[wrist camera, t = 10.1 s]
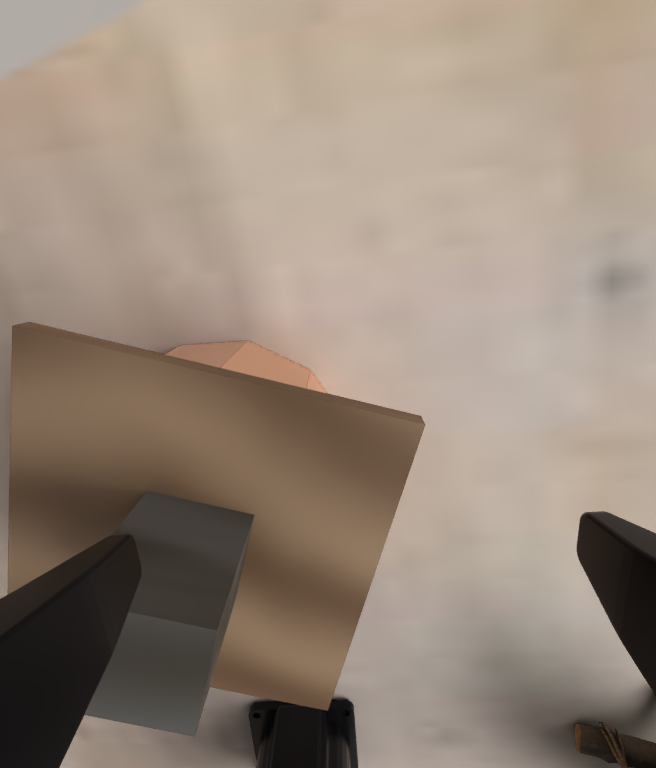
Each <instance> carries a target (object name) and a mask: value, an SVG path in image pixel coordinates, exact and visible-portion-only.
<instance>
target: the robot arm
mask: <svg viewBox="0 0 656 768" xmlns="http://www.w3.org/2000/svg"><path fill="white" fill-rule="evenodd" d="M577 555H578V558H579V561H580V563H581V565H582V567H583V569H584V571H585V573H586V575H587V577H588V579H589V581H590V582H591V584H592V586H593V588H594V590H595V592H596V594H597V596H598V598H599V600H600V602H601V604H602V606H603V608H604V610H605V612H606V614H607V616H608V618H609V620H610V622H611V623H612V625H613V627H614V629H615V631H616V633H617V634H618V636H619V638H620V640H621V641H622V643H623V645H624V646H625V648H626V650H627V651H628V653H629V654H630V656H631V657H632V659H633V661H634V662H635V664H636V665H637V667H638V668H639V670H640V672H641V673H642V675H643V676H644V678H645V679H646V681H647V683H648V684H649V686H650V687H651V689H652V690H653V692H654V694H655V695H656V533H654V532H651V531H649V530H647V529H645V528H642V527H640V526H638V525H635V524H633V523H631V522H629V521H626V520H624V519H622V518H619V517H617V516H615V515H613V514H610V513H608V512H604V511H601V512H585V513H584V514H582V516H581V518H580V523H579V532H578V540H577ZM141 574H142V566H141V562H140V558H139V553H138V549H137V545H136V541H135V538H134V537H133V535H131V534H112V535H109V536H108V537H106V538H104V539H102V540H101V541H99V542H97V543H96V544H94V545H92V546H90V547H89V548H87V549H85V550H84V551H82V552H80V553H78V554H77V555H75V556H73V557H72V558H70V559H68V560H66V561H65V562H63V563H61V564H60V565H58V566H56V567H54V568H53V569H51V570H49V571H48V572H46V573H44V574H42V575H41V576H39V577H37V578H36V579H34V580H32V581H30V582H29V583H27V584H25V585H24V586H22V587H20V588H18V589H17V590H15V591H13V592H11V593H10V594H8V595H6V596H5V597H3V598H1V599H0V768H59V767H60V765H61V763H62V761H63V759H64V756H65V754H66V752H67V750H68V748H69V746H70V744H71V742H72V740H73V737H74V735H75V733H76V731H77V729H78V727H79V725H80V723H81V721H82V719H83V716H84V714H85V712H86V710H87V708H88V706H89V704H90V702H91V700H92V697H93V695H94V693H95V691H96V689H97V687H98V685H99V683H100V681H101V679H102V676H103V674H104V672H105V670H106V668H107V666H108V664H109V661H110V659H111V657H112V655H113V652H114V650H115V647H116V645H117V642H118V639H119V637H120V634H121V631H122V629H123V626H124V623H125V620H126V618H127V615H128V612H129V609H130V607H131V604H132V601H133V598H134V596H135V593H136V590H137V587H138V585H139V582H140V579H141ZM249 720H250V726H251V731H252V737H253V743H254V748H255V754H256V760H257V765H256V768H358V757H357V744H356V730H355V717H354V706H353V704H352V703H351V702H349V701H331V703H330V706H329V709H328V711H326V710H321V709H317V708H312V707H307V706H302V705H297V704H292V703H287V702H280V703H255V704H253V705H251V707H250V711H249Z"/></svg>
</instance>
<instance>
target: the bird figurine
mask: <svg viewBox="0 0 656 768" xmlns="http://www.w3.org/2000/svg"><path fill="white" fill-rule="evenodd" d="M599 723H601V724H602V726H603V727H591V726H587V725H583V724H576V725H575V744H576V748H577V750H578V752H580V753H583V754H588V755H592V756H595V757H598V758H601V759H603V760H604V761H606V762H608V763H619V764H620V766H621V768H656V743H653V742H649V741H646V740H642V739H639V738H636V737H631V736H627V735H623V734H619V733H618V732H617V730H616V729H615V731H616V733H615V732H612V731H610V730H608V728H607V727H606V726H605V725H604V724H603V723H602V722H599Z"/></svg>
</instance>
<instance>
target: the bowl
mask: <svg viewBox="0 0 656 768" xmlns="http://www.w3.org/2000/svg"><path fill="white" fill-rule="evenodd" d="M165 355H169V356H173V357H177V358H181V359H186V360H190V361H194V362H198V363H202V364H206V365H210V366H215V367H219V368H223V369H227V370H231V371H235V372H240V373H244V374H248V375H252V376H256V377H260V378H265V379H269V380H273V381H277V382H281V383H285V384H290V385H294V386H298V387H302V388H306V389H310V390H314V391H319V392H323V393H327V392H326V391H325V390H324V388H323V387H322V385H321V384H320V383H319V381H318V380H317V378H316V377H315V376H314V374H313V373H312V371H310V370H309V369H307V368H305V367H303V366H301V365H299V364H296V363H294V362H292V361H290V360H288V359H286V358H284V357H282V356H280V355H277V354H275V353H273V352H271V351H269V350H267V349H265V348H263V347H260V346H258V345H256V344H254V343H252V342H250V341H237V342H222V343H207V344H193V345H180V346H179V347H177V348H175V349H173V350H172V351H170V352H168V353H166V354H165Z"/></svg>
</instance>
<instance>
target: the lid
mask: <svg viewBox="0 0 656 768" xmlns="http://www.w3.org/2000/svg"><path fill="white" fill-rule="evenodd" d="M424 427H425V423H424V421H423V419H422V417H421V416H418V415H414V414H410V413H406V412H402V411H398V410H394V409H389V408H385V407H381V406H377V405H373V404H369V403H364V402H360V401H356V400H352V399H348V398H344V397H339V396H335V395H331V394H327V393H323V392H319V391H314V390H310V389H306V388H302V387H298V386H294V385H290V384H285V383H281V382H277V381H273V380H269V379H265V378H260V377H256V376H252V375H248V374H244V373H240V372H235V371H231V370H227V369H223V368H219V367H215V366H210V365H206V364H202V363H198V362H194V361H190V360H186V359H181V358H177V357H173V356H169V355H165V354H161V353H156V352H152V351H148V350H144V349H140V348H136V347H131V346H127V345H123V344H119V343H115V342H111V341H107V340H102V339H98V338H94V337H90V336H86V335H82V334H77V333H73V332H69V331H65V330H61V329H57V328H52V327H48V326H44V325H40V324H36V323H32V322H28V323H23V324H19V325H14V326H12V378H11V433H10V487H9V542H8V594H10V593H11V592H13V591H15V590H17V589H18V588H20V587H22V586H24V585H25V584H27V583H29V582H30V581H32V580H34V579H36V578H37V577H39V576H41V575H42V574H44V573H46V572H48V571H49V570H51V569H53V568H54V567H56V566H58V565H60V564H61V563H63V562H65V561H66V560H68V559H70V558H72V557H73V556H75V555H77V554H78V553H80V552H82V551H84V550H85V549H87V548H89V547H90V546H92V545H94V544H96V543H97V542H99V541H101V540H102V539H104V538H106V537H108V536H109V535H112V534H131V535H133V537H134V538H135V541H136V545H137V549H138V553H139V558H140V562H141V566H142V574H141V579H140V582H139V585H138V587H137V590H136V593H135V596H134V598H133V601H132V604H131V607H130V609H129V612H128V615H127V618H126V620H125V623H124V626H123V629H122V631H121V634H120V637H119V639H118V642H117V645H116V647H115V650H114V652H113V655H112V657H111V659H110V661H109V664H108V666H107V668H106V670H105V672H104V674H103V676H102V679H101V681H100V683H99V685H98V687H97V689H96V691H95V693H94V695H93V697H92V700H91V702H90V704H89V706H88V708H87V710H86V712H85V714H84V715H88V716H93V717H98V718H103V719H108V720H113V721H119V722H124V723H129V724H134V725H139V726H144V727H149V728H154V729H159V730H164V731H169V732H174V733H180V734H185V735H190V736H195V733H196V730H197V727H198V723H199V720H200V717H201V713H202V710H203V707H204V703H205V700H206V697H207V693H208V690H209V687H213V688H218V689H223V690H228V691H233V692H238V693H243V694H248V695H252V696H257V697H262V698H267V699H272V700H277V701H282V702H287V703H292V704H297V705H302V706H307V707H312V708H317V709H321V710H326V711H328V709H329V706H330V703H331V700H332V697H333V694H334V691H335V688H336V685H337V682H338V679H339V676H340V673H341V670H342V667H343V665H344V662H345V659H346V656H347V653H348V650H349V647H350V644H351V641H352V638H353V635H354V632H355V629H356V626H357V623H358V621H359V618H360V615H361V612H362V609H363V606H364V603H365V600H366V597H367V594H368V591H369V588H370V585H371V582H372V579H373V577H374V574H375V571H376V568H377V565H378V562H379V559H380V556H381V553H382V550H383V547H384V544H385V541H386V538H387V535H388V533H389V530H390V527H391V524H392V521H393V518H394V515H395V512H396V509H397V506H398V503H399V500H400V497H401V494H402V492H403V489H404V486H405V483H406V480H407V477H408V474H409V471H410V468H411V465H412V462H413V459H414V456H415V453H416V450H417V448H418V445H419V442H420V439H421V436H422V433H423V430H424Z"/></svg>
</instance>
